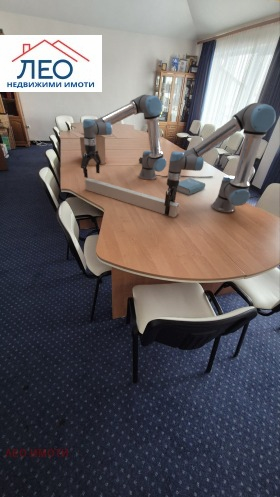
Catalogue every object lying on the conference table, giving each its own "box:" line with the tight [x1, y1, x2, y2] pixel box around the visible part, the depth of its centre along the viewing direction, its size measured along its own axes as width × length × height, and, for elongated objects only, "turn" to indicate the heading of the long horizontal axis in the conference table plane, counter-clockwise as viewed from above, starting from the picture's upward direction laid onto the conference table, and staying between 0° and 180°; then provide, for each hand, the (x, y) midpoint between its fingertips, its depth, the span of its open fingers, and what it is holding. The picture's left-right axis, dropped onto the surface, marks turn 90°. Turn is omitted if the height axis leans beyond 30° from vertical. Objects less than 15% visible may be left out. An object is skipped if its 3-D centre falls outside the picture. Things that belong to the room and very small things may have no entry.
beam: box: [84, 177, 180, 218], centre depth 159 cm, size 76×5×8 cm, turn 60°
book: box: [177, 177, 206, 196], centre depth 186 cm, size 23×16×5 cm
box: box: [70, 130, 114, 166], centre depth 229 cm, size 44×36×27 cm
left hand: (92, 175), depth 166 cm, fingers open, 13 cm apart
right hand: (168, 212), depth 149 cm, fingers closed on beam, 5 cm apart
